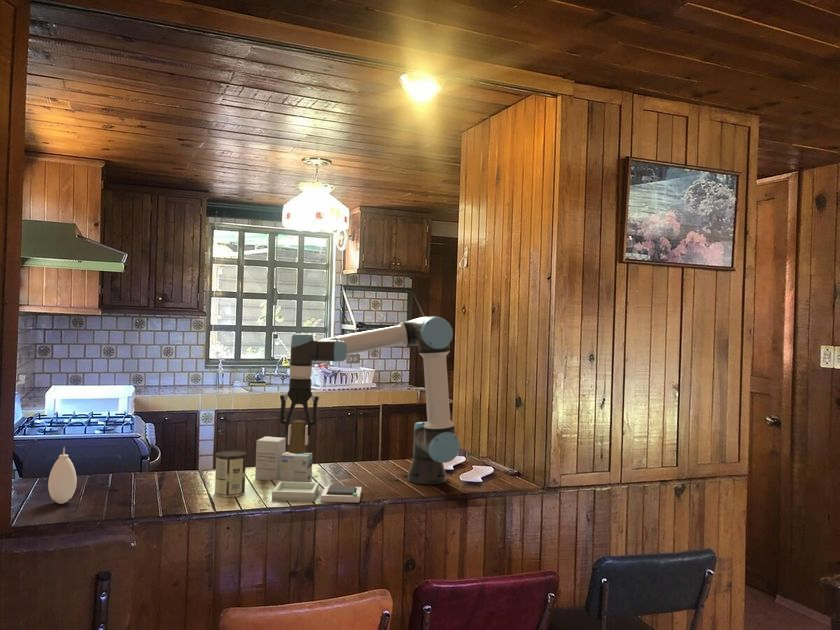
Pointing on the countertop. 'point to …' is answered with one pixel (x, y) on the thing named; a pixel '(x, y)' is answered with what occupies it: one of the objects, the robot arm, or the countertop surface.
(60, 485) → the bulb syringe
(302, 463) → the light bulb box
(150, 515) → the countertop surface
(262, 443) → the supplement box
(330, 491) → the dark grey square slab
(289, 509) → the countertop surface
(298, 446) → the cork
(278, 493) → the sorting tray
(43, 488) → the countertop surface
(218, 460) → the coffee can
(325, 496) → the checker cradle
